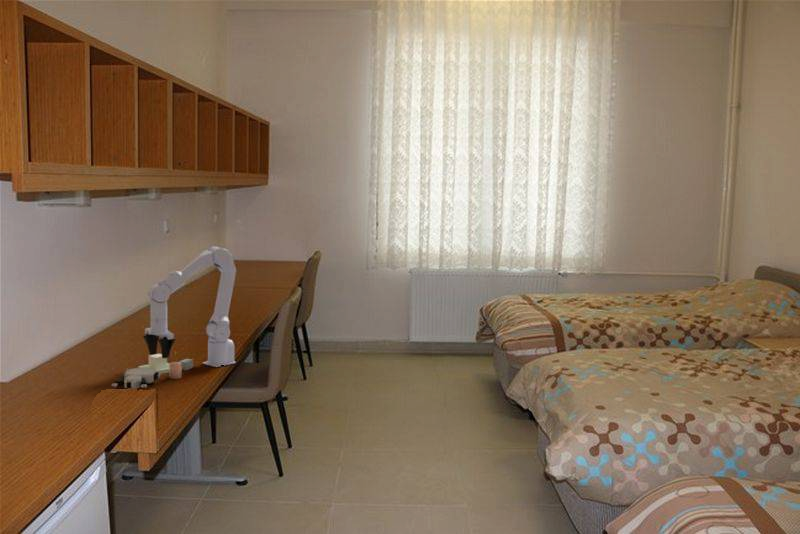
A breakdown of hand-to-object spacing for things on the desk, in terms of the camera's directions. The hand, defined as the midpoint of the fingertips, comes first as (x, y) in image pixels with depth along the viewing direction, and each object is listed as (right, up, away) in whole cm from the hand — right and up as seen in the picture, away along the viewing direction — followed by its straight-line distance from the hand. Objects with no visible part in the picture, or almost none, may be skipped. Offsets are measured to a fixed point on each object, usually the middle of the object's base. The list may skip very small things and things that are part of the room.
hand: (159, 356), depth 254 cm
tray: (0, -5, +1) cm, 5 cm away
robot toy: (-1, -8, -20) cm, 21 cm away
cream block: (-1, -5, 0) cm, 5 cm away
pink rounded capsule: (+8, -6, -8) cm, 13 cm away
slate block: (+8, -5, +5) cm, 11 cm away
